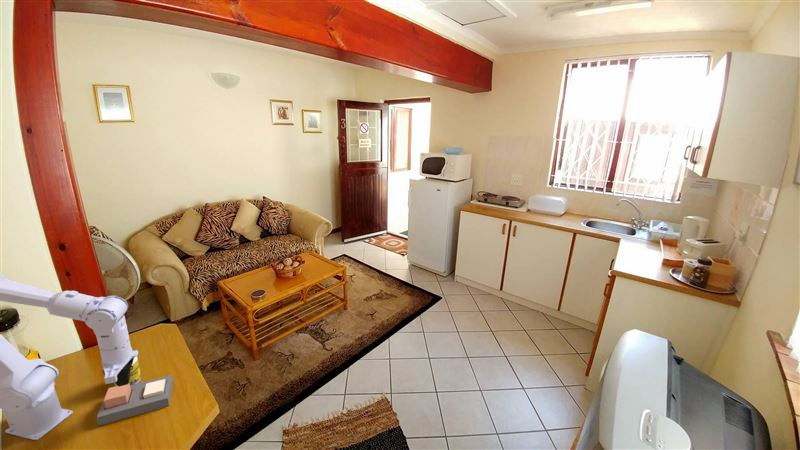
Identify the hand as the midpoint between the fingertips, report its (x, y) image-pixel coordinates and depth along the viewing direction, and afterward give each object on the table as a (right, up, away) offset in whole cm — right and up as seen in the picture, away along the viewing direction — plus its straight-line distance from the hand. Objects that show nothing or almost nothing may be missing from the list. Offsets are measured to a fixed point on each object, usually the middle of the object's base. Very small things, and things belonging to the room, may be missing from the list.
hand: (123, 383), depth 82 cm
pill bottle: (-9, -6, +11) cm, 16 cm away
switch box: (-1, -8, +6) cm, 10 cm away
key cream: (+3, -7, +7) cm, 11 cm away
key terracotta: (-4, -6, +3) cm, 8 cm away
